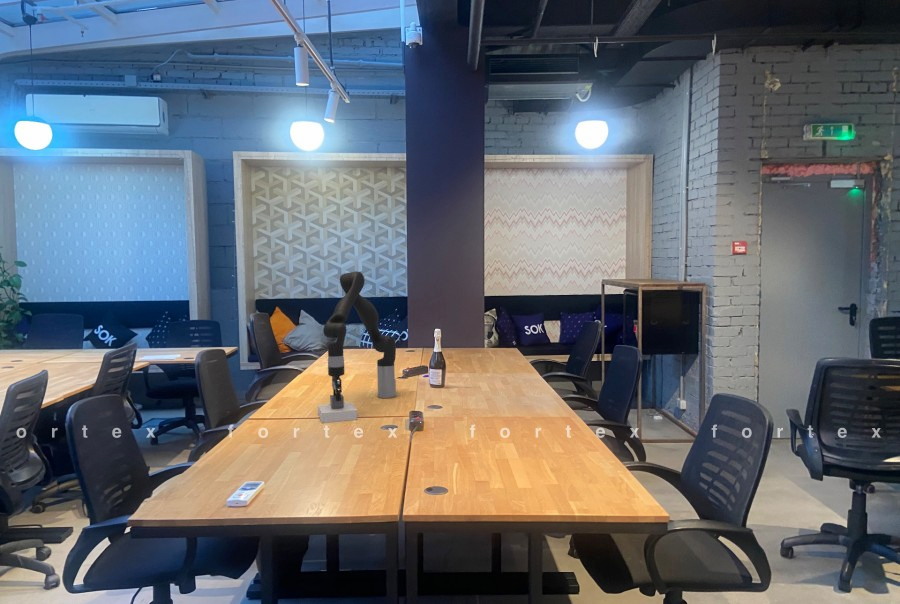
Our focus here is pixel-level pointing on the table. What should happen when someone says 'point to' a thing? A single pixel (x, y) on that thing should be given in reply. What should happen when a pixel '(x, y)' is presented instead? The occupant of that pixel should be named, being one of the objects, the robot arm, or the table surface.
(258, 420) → the table surface
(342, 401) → the plug
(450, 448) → the table surface
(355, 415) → the socket block
